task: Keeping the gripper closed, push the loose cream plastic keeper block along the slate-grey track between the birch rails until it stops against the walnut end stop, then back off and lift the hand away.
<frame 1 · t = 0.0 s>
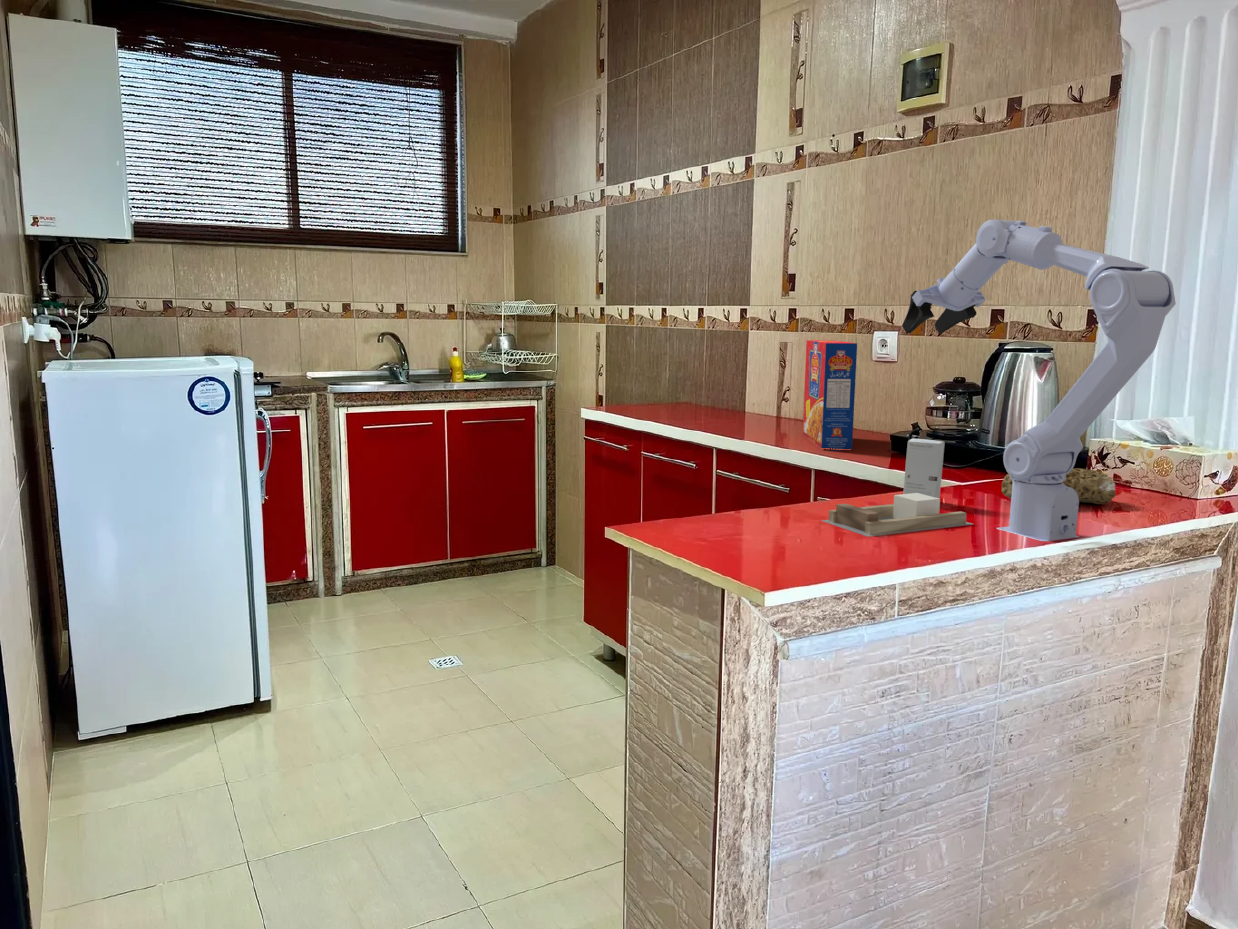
hand: (921, 329, 162), 32 cm above the worktop, tool tilted 50°, fingers open, 7 cm apart
guide rails: (897, 513, 148), on the track board, point 2 cm above the worktop
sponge: (1054, 504, 168), on the worktop
keeper: (915, 520, 150), point 1 cm above the worktop, touching track board
skincare box: (921, 506, 165), on the worktop
pasta box: (825, 443, 247), on the worktop
track board: (896, 525, 148), on the worktop
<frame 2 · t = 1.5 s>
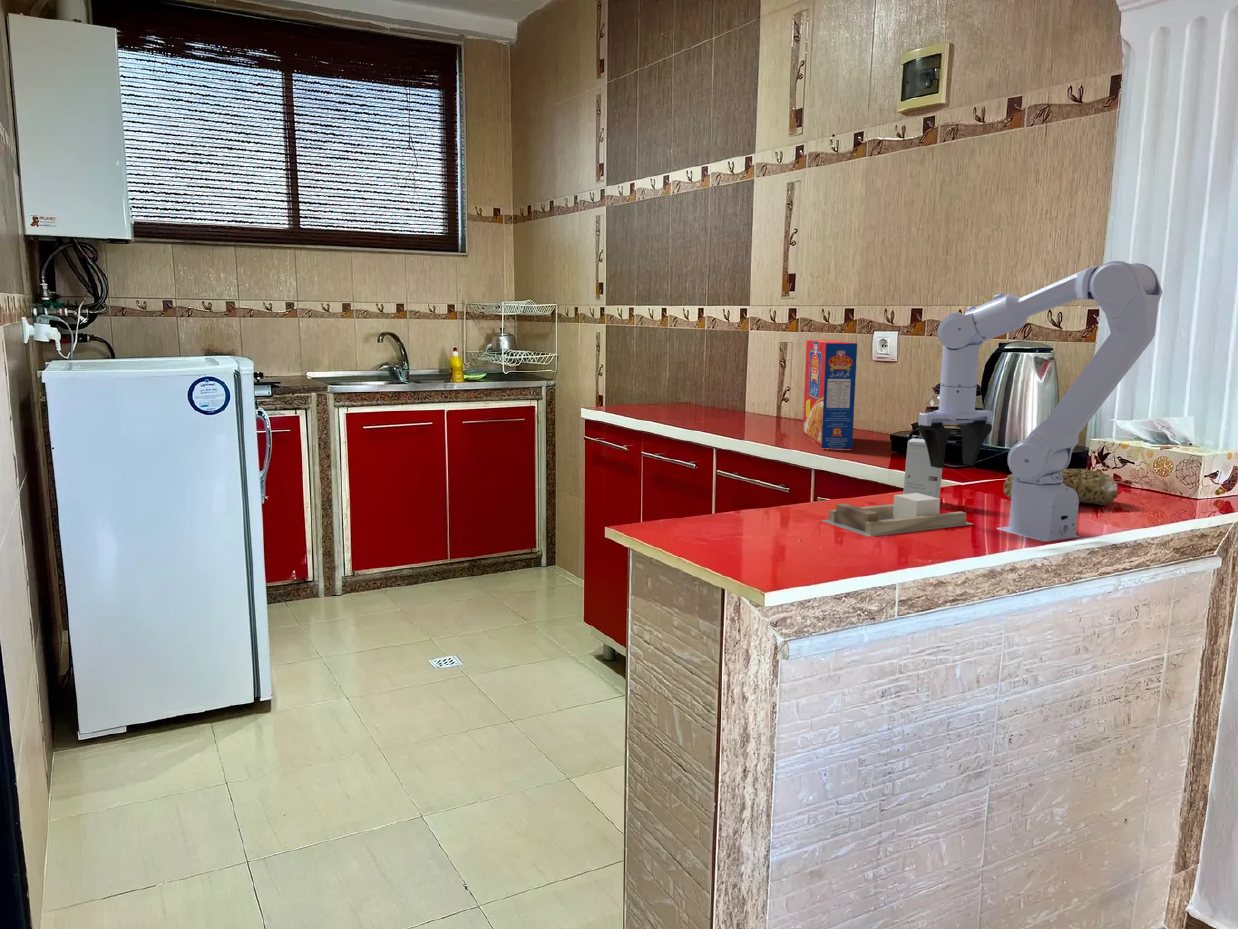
hand: (952, 465, 151), 9 cm above the worktop, tool pointing down, fingers open, 7 cm apart
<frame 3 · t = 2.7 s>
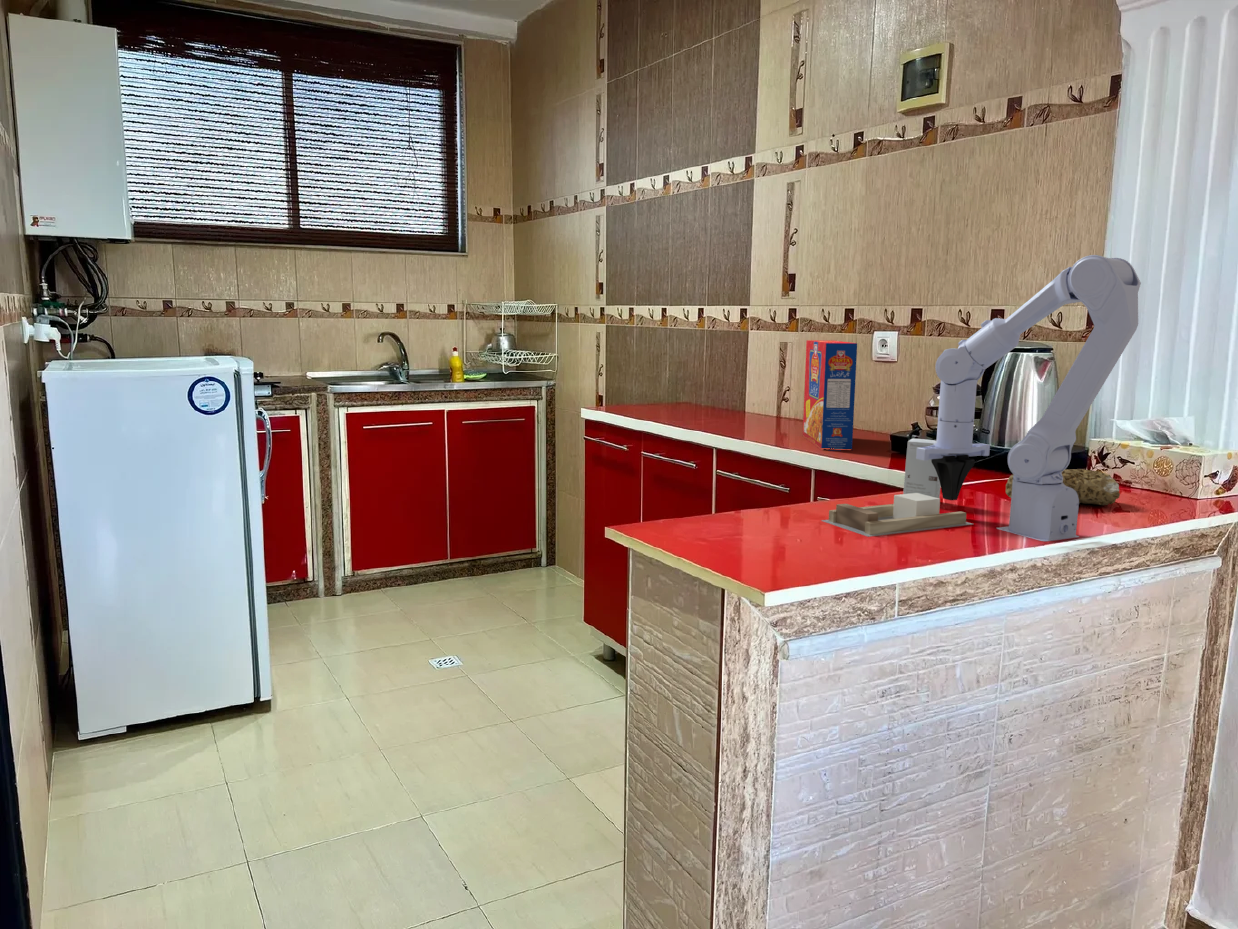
hand: (949, 499, 152), 4 cm above the worktop, tool pointing down, fingers closed
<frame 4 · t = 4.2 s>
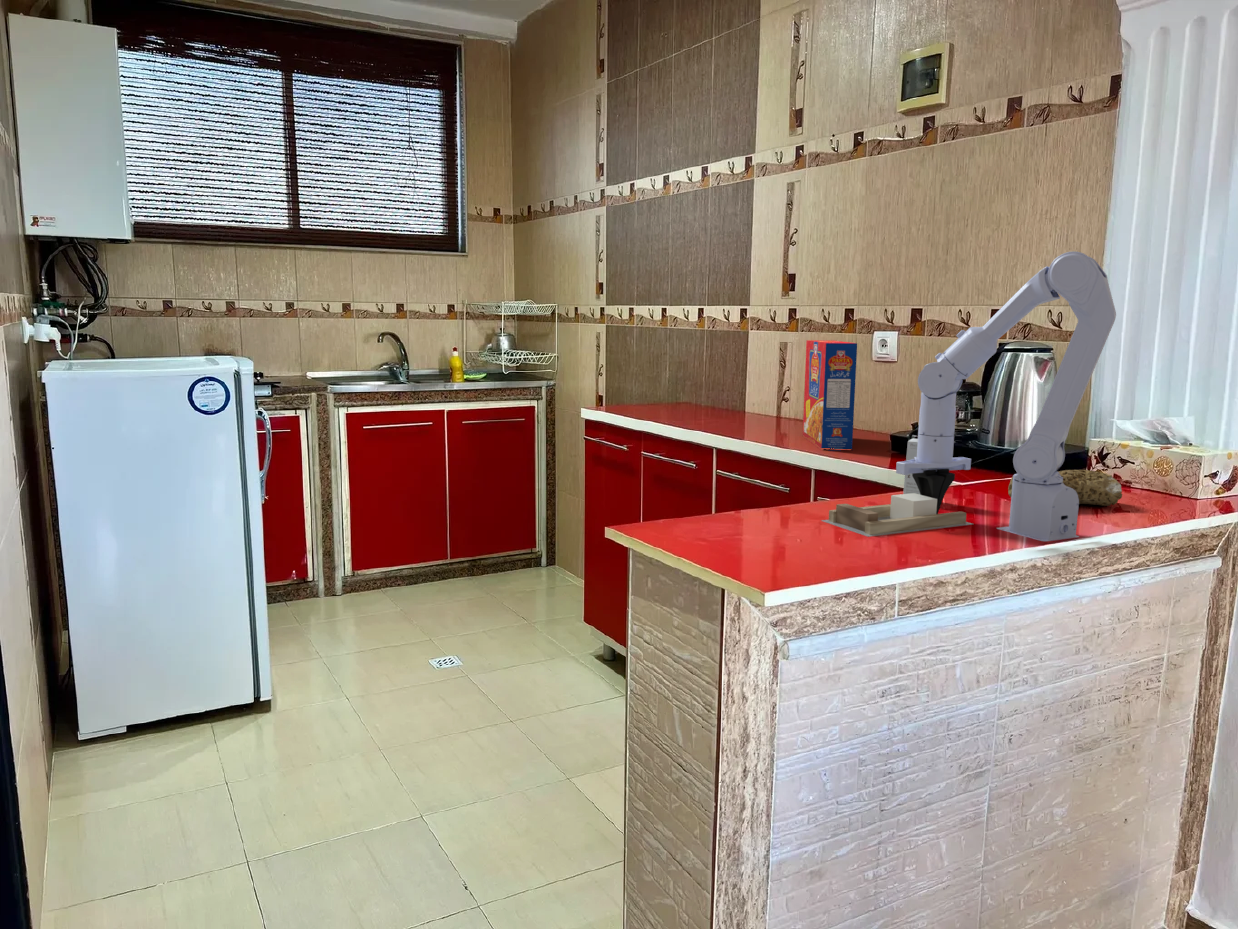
hand: (930, 513, 151), 1 cm above the worktop, tool pointing down, fingers closed
keeper: (912, 520, 149), point 1 cm above the worktop, touching gripper, track board
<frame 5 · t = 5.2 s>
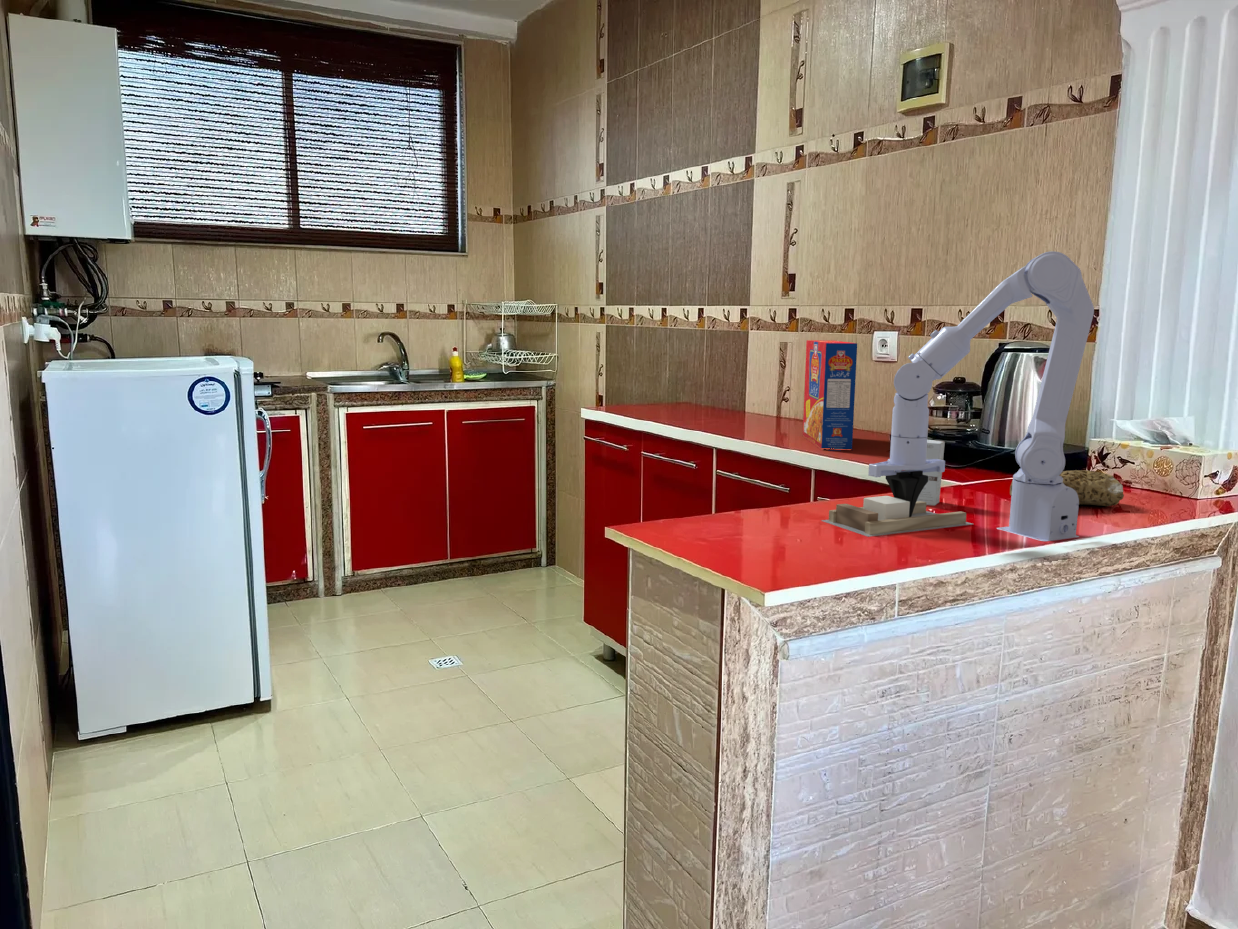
hand: (904, 516, 149), 1 cm above the worktop, tool pointing down, fingers closed
keeper: (885, 523, 147), point 1 cm above the worktop, touching gripper, track board
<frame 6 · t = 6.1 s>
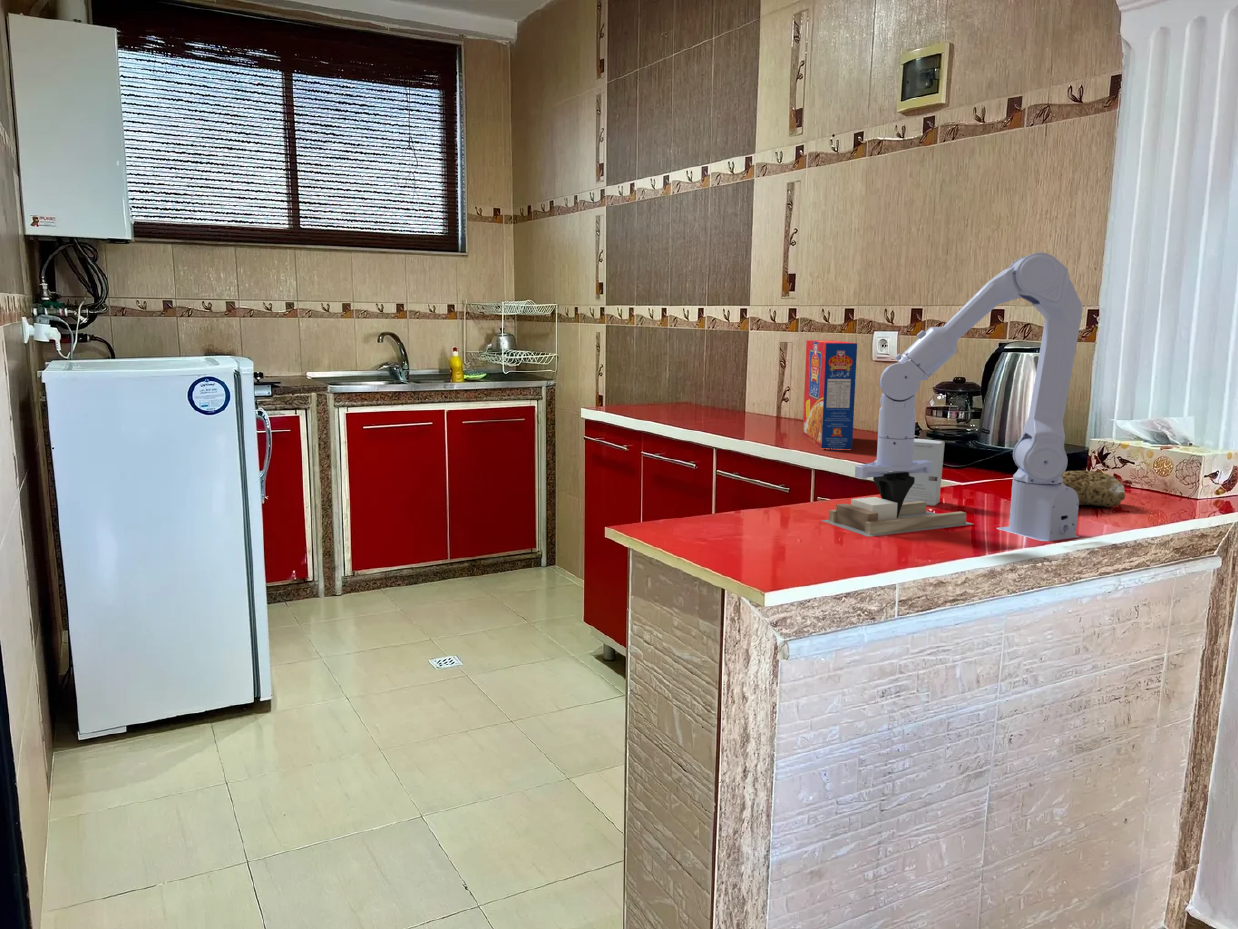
hand: (891, 518, 147), 1 cm above the worktop, tool pointing down, fingers closed
keeper: (872, 524, 146), point 1 cm above the worktop, touching gripper, guide rails, track board
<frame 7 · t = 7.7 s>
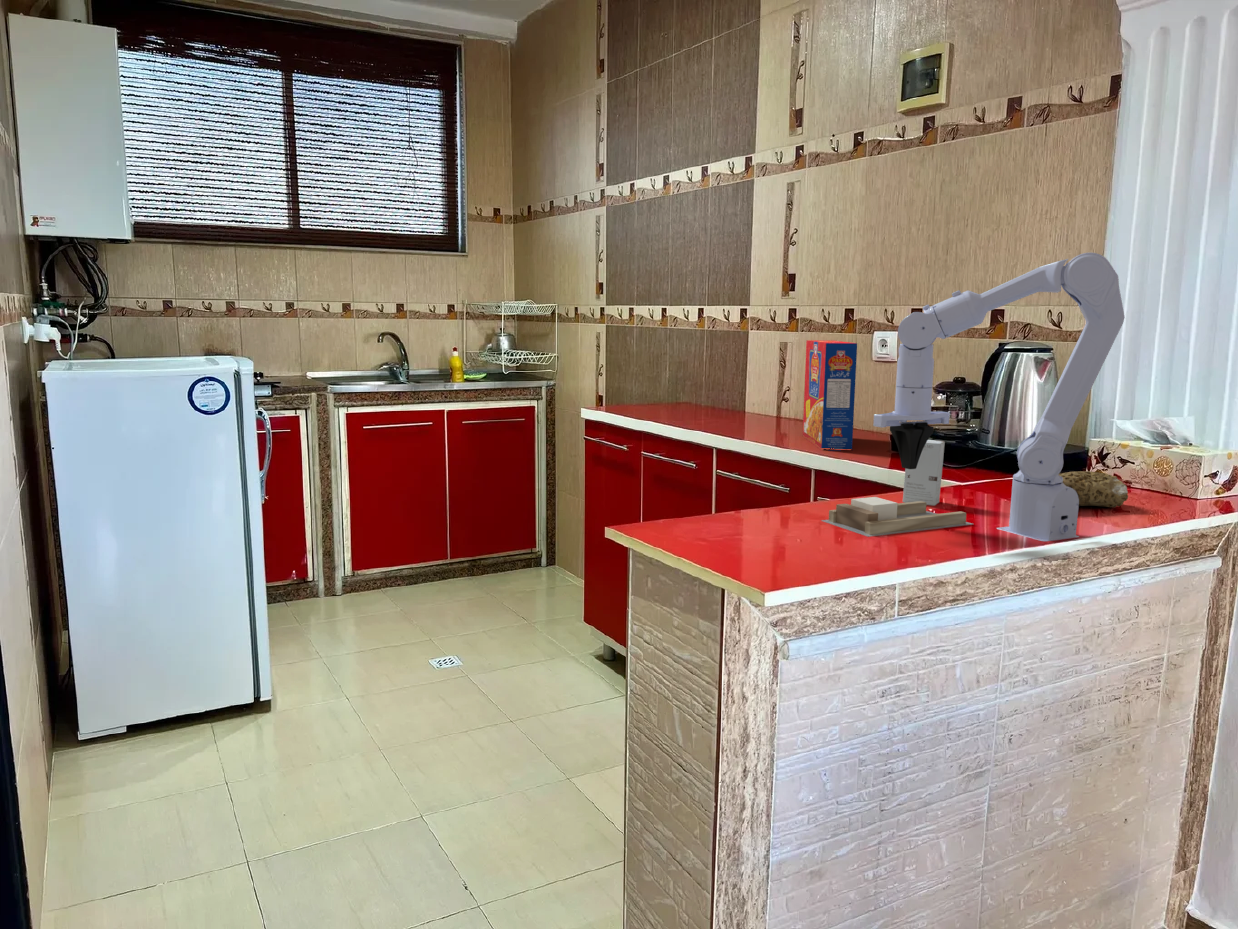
hand: (908, 468, 148), 9 cm above the worktop, tool pointing down, fingers closed
keeper: (872, 524, 146), point 1 cm above the worktop, touching guide rails, track board
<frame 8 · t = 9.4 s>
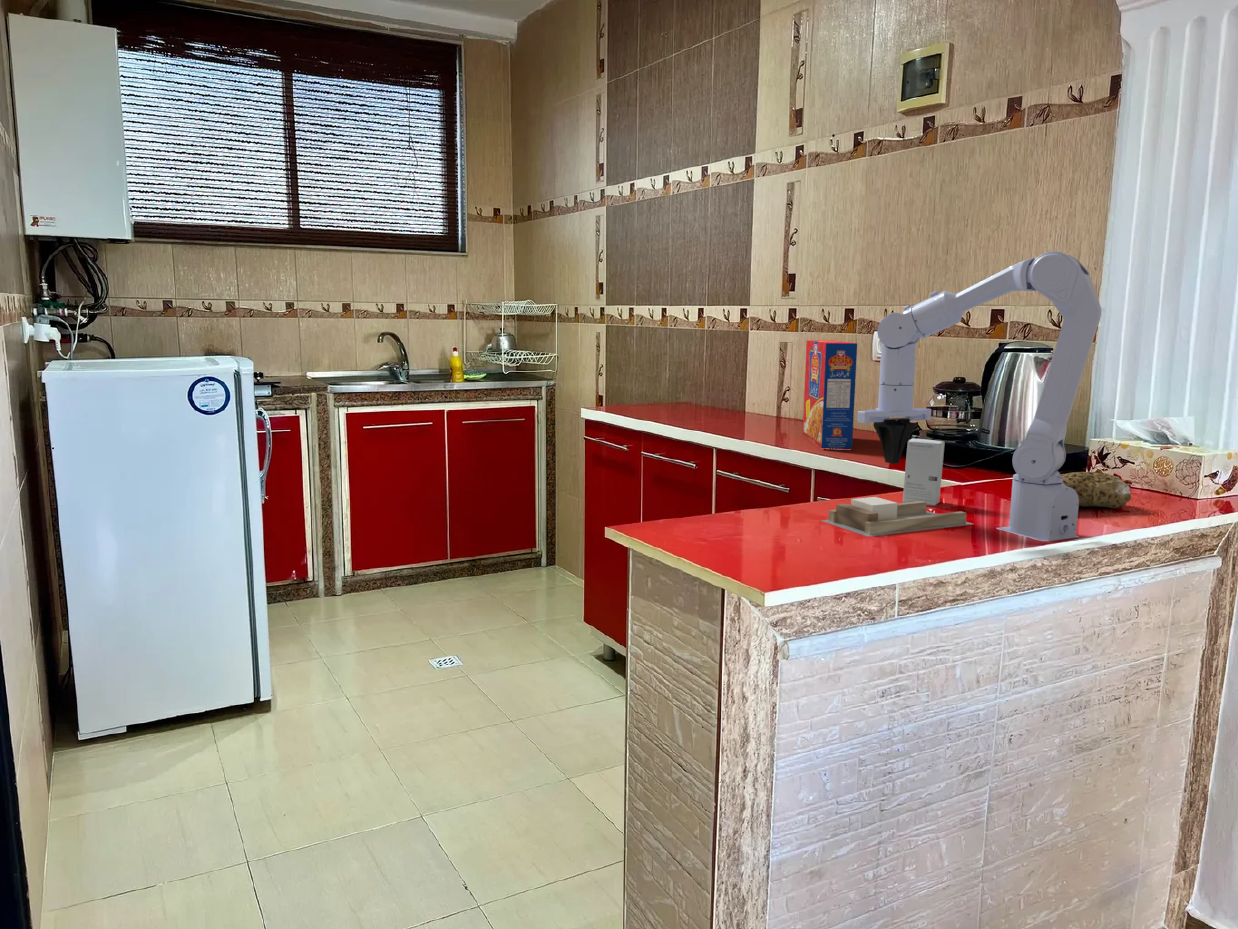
hand: (892, 462, 154), 9 cm above the worktop, tool pointing down, fingers closed
at the end: keeper 0.1 cm from the target spot, point 0.6 cm above the worktop; keeper tilted 0°; keeper moved 9.0 cm from its start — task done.
